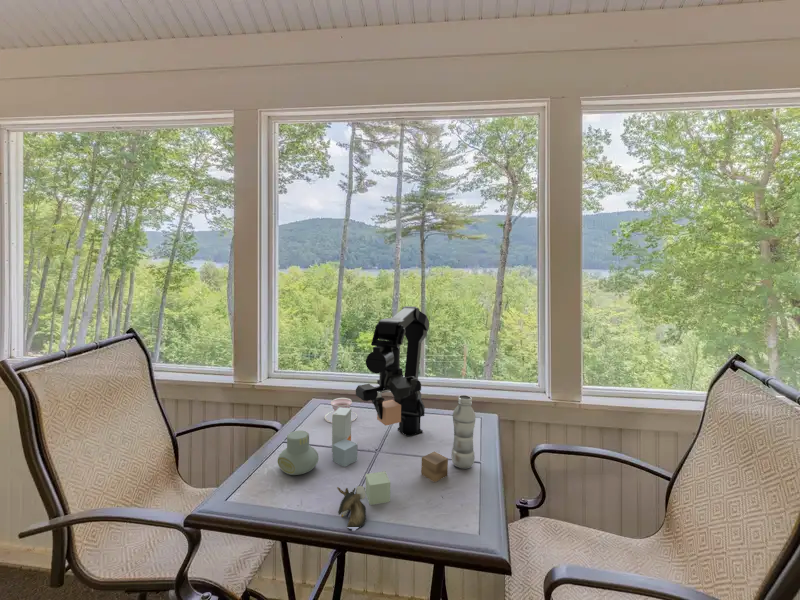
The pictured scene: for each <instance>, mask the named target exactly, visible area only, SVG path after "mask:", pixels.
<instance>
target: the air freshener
mask: <svg viewBox="0 0 800 600" xmlns="http://www.w3.org/2000/svg"><path fill="white" fill-rule="evenodd" d="M278 455H279V456H278V457H277V464H278V467H279V469H281V471H282V472H283V473H285V474H287V475H290V476H299V475H303V474H307V473H309V472H310V471H312V470H313V469H314V468H316V467H317V464H318V463H319V459H320V458H319V453H318V452H317V450H316V449H315V448H314V447H313V446H311V445H310V433H309V432H308V431H306V430H295V431H294V430H293V431H291V432H289V433H288V434H287V436H286V448H284V449H283V450H282V451H281V452H280V454H278Z"/></svg>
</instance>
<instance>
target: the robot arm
mask: <svg viewBox="0 0 800 600" xmlns="http://www.w3.org/2000/svg"><path fill="white" fill-rule="evenodd" d="M429 329H430V321H429V318H428V315H426V314H425V313H424V312H422V311H420V308H419V307H417V306H409V305H408V306H406V305H405V306H402V308H401V310H399V311H398V312H397V313H396V314H395V315H393V317H392V316H391V317H388V318H383V319H380V320H378V322H377V324H376V325H375V328H374V333H373V336H372V339H371V344H370V345H371V347H372V351H371V352H370V353H368V355H367V356H366V359H365V365H366V368H367V369H368V370H369V371H370V372H371V373H373V374H379V377H378V378H379V379H377V380H376V381H377V382H376V384H377V385H378V386H377V385H376V386H373V385H372V384H370V383H366V384H359V385H357V387H356V389H355V396H357V397H358V398H359V399H360V400H362V401H364V402H368V401H371V402H372V405H373V406H374V409H375V411H376V413H377V414H378V416H379V418H380V419H382V417H383V404H382V403H383V401H385V398H384V397H382V394H383V393H388V392H390V393H391V394H392V396H393V400H394V401H395V402H397V403H399V404H400V405H401V422H399V423H398V427H397V431H399V432H400V433H401V434H403V436H406V437H410V436H414V435H418V434H423V432H424V431H423V430H422V429H421V418H422V417H424V416H425V411H426V409H425V407H426V406H425V404H424V402H423V400H422V392H421V391H422V383H421V381H420V380H419V373H420V360H421V359H420V358H421V349H422V342H423V341H424V340H425V339H426V337H427V334H428V331H429ZM404 338H406V341H407V345H406V346H407V347H406V357H405V369H404V375H403V368H402V367H401V356H400V355H401V345H403V342H404ZM377 414H376V415H377Z"/></svg>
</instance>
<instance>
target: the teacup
mask: <svg viewBox="0 0 800 600" xmlns="http://www.w3.org/2000/svg"><path fill="white" fill-rule="evenodd" d="M352 404H353V401H352V399H351V398H349V397H338V398H334V399H332V400H331V401H330V405H331V406H332V410H333V411H334V412H335V411H336V410H337V409H338V408H339V407H342V408H351V406H352ZM331 412H332V411H329V412H328V413H326V414H325V415H324V420H325V421H326V422H327V423H331V424H332V422H330V421H329V420H327V418H326V416H327V415H328V414H329V413H331ZM351 412H353V413H355V414H356V418H357V419H358V414H357V413H356V412H354V411H352V410H351ZM356 418H355V419H356ZM355 419H353V420H352V421H353V422H355V421H356V420H357V419H356V420H355ZM352 421H351V423H353V422H352Z"/></svg>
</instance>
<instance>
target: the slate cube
mask: <svg viewBox="0 0 800 600" xmlns="http://www.w3.org/2000/svg"><path fill="white" fill-rule="evenodd" d="M356 461H358V443H356V442H354V441H352V440H351V441H349V440H347V439H344V440H342V441H340V442H338V443H335V444H333V452H332V462H334V463H336V464H337V465H340V466H341V467H347V466H350V465H351V464H353V463H355V462H356Z"/></svg>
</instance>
